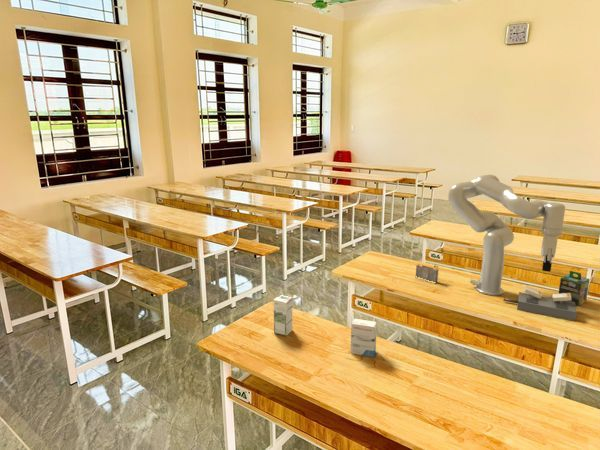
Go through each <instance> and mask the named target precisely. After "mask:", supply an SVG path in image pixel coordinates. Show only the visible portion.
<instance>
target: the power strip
mask: <svg viewBox="0 0 600 450" xmlns="http://www.w3.org/2000/svg"><path fill="white" fill-rule="evenodd" d="M503 301H504V302H508V303H513V304H517V306H516V310H518V311H523V312H527V313H534V314H539V315H543V316H548V317H553V318H558V319H564V320H568V321H574V322H576V319H577V313H578V311H577V306H576V305H575V302H571V301H553V297H549V296H544V295H542V296H541V298H537V297H535V296H533V295H530V294H528V293H526V292H521V291H519V292H518V300H514V299H510V298H505V297H504V298H503Z"/></svg>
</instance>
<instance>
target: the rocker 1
mask: <svg viewBox="0 0 600 450" xmlns="http://www.w3.org/2000/svg"><path fill="white" fill-rule="evenodd" d="M523 290H524V292H523V293H527V294H530V295H533V296H535V297H537V298H541V296H543V294H542V293H543V292H542V291H540V290H537V289H535V288H533V287H531V286H528V285H525V287H524V289H523Z"/></svg>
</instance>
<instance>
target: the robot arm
mask: <svg viewBox="0 0 600 450" xmlns="http://www.w3.org/2000/svg"><path fill="white" fill-rule="evenodd" d="M481 195H484V196H486V197H488V198H490V199H492V200H494V201H496V202H498V203H499V204H501V205H502V206H503V207H505V209H507V210H508V211H510V212H511V213H513V214H515V215H517V216H519V217H521V218H524V219H526V220H534V219H536V218H541V217H543V220H542V226H541V234H542V236H543V237H542V243H541V251H540V255H541V258H543V261H542V269H541V270H542V271H543V272H547V273H548V272H549V273H550V272H551V271H552V263H553V262H552V261H553V259H554V258H555V255H556V251H557V246H558V239H559V237H562V233H563V225H564V218H565V213H566V205H564V204H562V203H558V202H548V201H543V200H538V199H537V200H531V201H529V200H526V199H524V198H522V197H520V196H518V195H517V194H516V193H515V192H514V189H513V188H512V186H510V185H507V184H505V183H503V182H500V179H499V178H498V177H497V176H496V175H493V174H484V175H480V176H478V177H477V178H475V179H473V180H470V181H465V182H458V183H456V184H454V185H452V186H451V187H450V189H449V191H448V196H447V197H448V203H449V204H450V206H451V208H452V209H453V210H454V211H455V212H456V213H457V214H458V215H459V216H460V217H461V218H462V219H463V220H464V221H465V222H466V223H467V224H468V225H469V227H471V229H472V230H473V231H475V232H476V233H484V232H487V233H485V235H484V237H483V239H482V240H483V241H482V248H483V253H482V261H481V263H482V265H481V270H480V271H481V272H480V278H479V279H478V280H475V279H470V284H472V285H473V286H475V291H477V292H478V293H480V294H483V295H487V296H497V297H498V296H501V295H503V294H504V289H503V288H501V287H502V279H503V273H504V265H505V247H507V246H509V245H511V244H512V242H514V240H515V235H514V233H513V230H512V229H511V228H510V227H509V226H508V225H507V223H505V222H504V221H503V220H502V219H501V218H500V217H499V216H498V215H497V214H495V213H494V212H491V211H484V212H482V211H481V210H480V209H479V208H478V207H477V206H476V205H475V204H474V203H473V202H471V201H469V200H468V199H470V198H474V197H478V196H481Z"/></svg>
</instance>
